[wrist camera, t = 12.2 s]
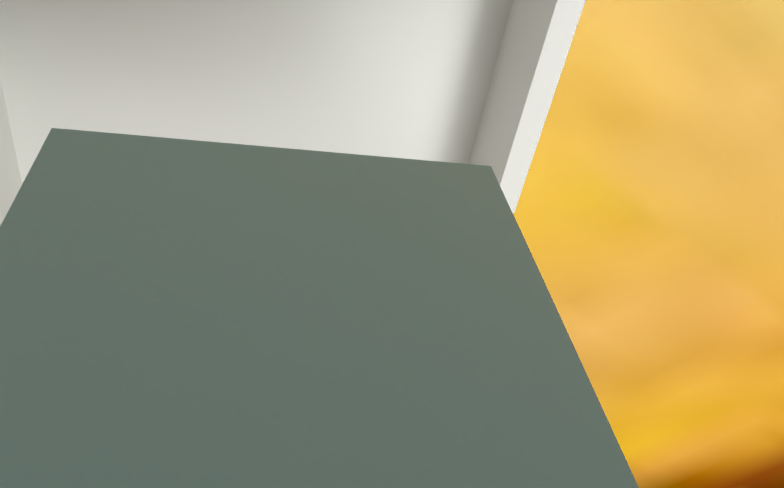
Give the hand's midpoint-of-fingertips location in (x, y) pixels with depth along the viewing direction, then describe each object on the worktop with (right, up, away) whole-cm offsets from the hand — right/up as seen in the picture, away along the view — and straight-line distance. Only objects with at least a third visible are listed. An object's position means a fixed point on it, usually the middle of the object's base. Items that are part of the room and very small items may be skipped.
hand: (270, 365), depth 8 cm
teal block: (0, +1, +1) cm, 1 cm away
